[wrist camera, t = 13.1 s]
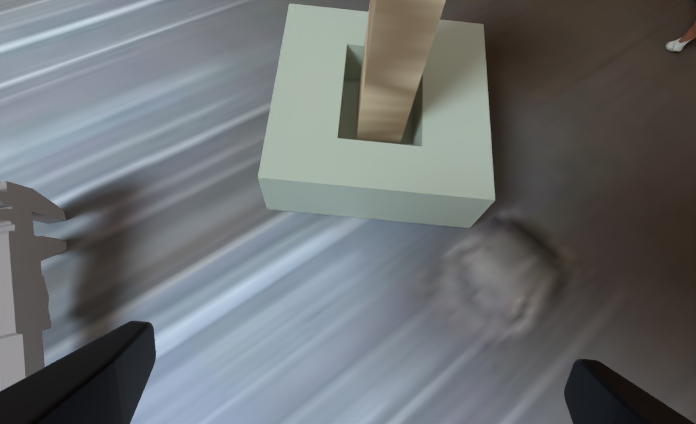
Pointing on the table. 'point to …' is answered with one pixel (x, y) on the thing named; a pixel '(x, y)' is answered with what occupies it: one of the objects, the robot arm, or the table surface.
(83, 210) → the table surface
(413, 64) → the slat
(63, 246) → the caliper
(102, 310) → the table surface
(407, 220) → the end cap
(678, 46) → the bull figurine
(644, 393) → the robot arm
